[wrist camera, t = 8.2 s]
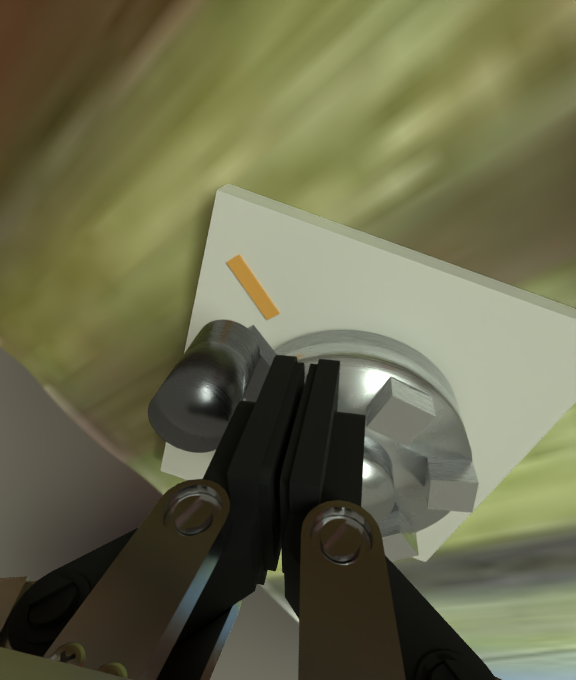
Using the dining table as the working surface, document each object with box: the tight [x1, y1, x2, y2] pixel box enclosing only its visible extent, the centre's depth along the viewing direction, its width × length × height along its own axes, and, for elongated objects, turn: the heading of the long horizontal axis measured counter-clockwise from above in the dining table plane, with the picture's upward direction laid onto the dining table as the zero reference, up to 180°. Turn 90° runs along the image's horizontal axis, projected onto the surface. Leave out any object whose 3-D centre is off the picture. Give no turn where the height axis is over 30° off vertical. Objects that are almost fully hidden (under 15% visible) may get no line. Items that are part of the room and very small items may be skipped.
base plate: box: [160, 183, 576, 562], centre depth 22 cm, size 18×18×2 cm
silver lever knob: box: [148, 319, 479, 561], centre depth 17 cm, size 15×11×8 cm
